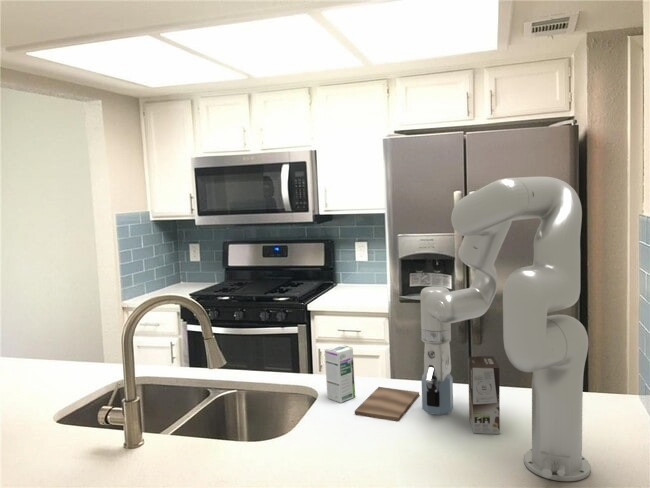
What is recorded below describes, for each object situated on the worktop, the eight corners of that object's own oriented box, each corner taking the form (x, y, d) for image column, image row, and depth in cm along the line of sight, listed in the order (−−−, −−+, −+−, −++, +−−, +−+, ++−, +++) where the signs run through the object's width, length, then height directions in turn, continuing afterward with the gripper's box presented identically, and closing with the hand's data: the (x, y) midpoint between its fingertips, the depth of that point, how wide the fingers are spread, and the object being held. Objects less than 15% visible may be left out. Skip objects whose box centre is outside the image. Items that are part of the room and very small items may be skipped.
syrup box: (341, 403, 150) (339, 352, 149) (326, 398, 154) (324, 348, 153) (355, 397, 154) (353, 347, 152) (340, 392, 158) (339, 343, 157)
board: (398, 421, 137) (398, 417, 137) (354, 414, 143) (354, 410, 143) (419, 395, 153) (419, 392, 153) (378, 390, 159) (378, 386, 159)
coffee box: (500, 434, 128) (500, 367, 126) (472, 433, 129) (471, 367, 127) (495, 418, 137) (494, 355, 135) (468, 417, 138) (467, 355, 136)
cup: (448, 416, 139) (447, 382, 138) (419, 412, 142) (419, 378, 141) (454, 405, 146) (454, 372, 145) (427, 401, 149) (426, 369, 148)
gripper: (442, 345, 133) (443, 415, 134) (458, 327, 148) (459, 390, 150) (412, 342, 136) (413, 410, 138) (430, 325, 151) (432, 386, 153)
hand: (437, 399), depth 144 cm, fingers closed on cup, 7 cm apart
